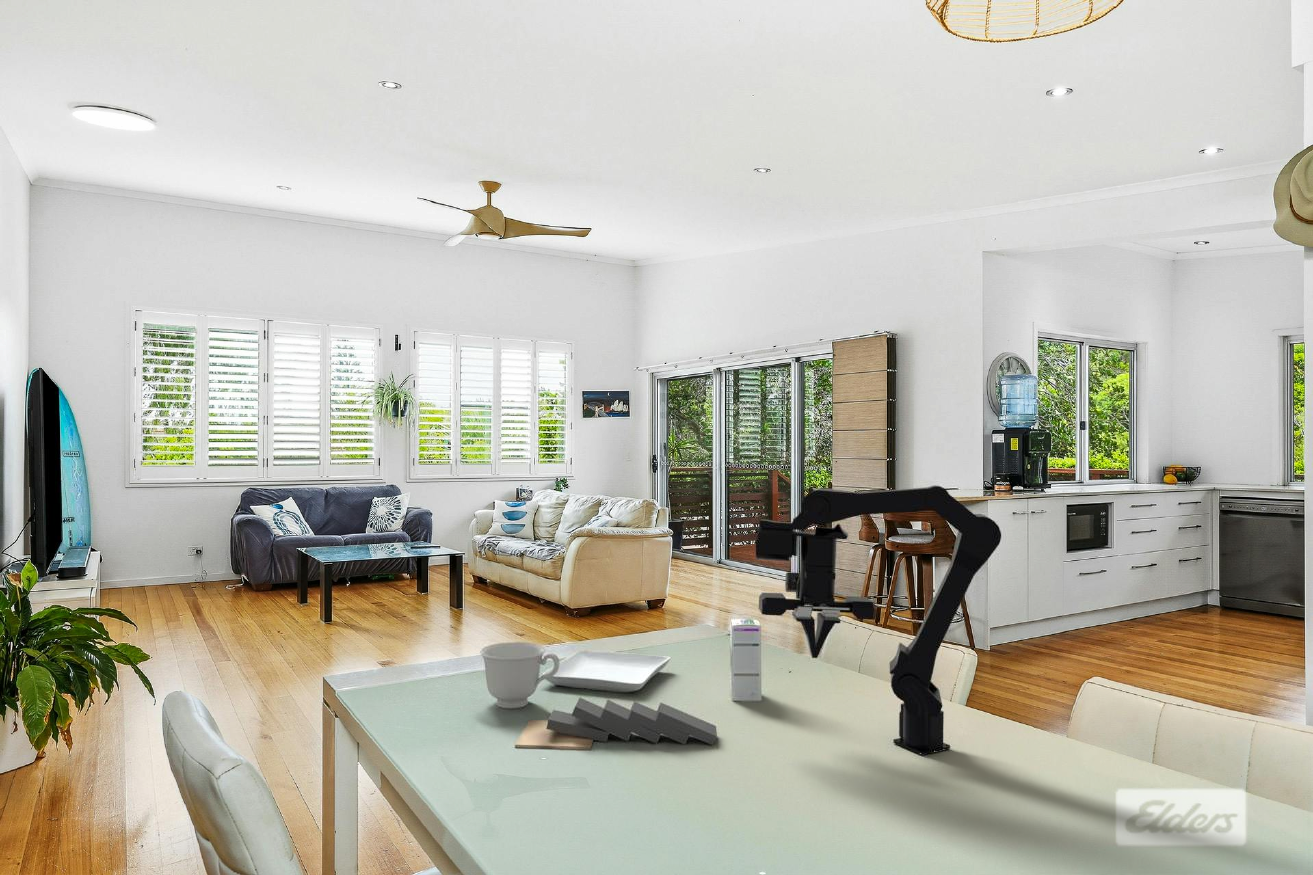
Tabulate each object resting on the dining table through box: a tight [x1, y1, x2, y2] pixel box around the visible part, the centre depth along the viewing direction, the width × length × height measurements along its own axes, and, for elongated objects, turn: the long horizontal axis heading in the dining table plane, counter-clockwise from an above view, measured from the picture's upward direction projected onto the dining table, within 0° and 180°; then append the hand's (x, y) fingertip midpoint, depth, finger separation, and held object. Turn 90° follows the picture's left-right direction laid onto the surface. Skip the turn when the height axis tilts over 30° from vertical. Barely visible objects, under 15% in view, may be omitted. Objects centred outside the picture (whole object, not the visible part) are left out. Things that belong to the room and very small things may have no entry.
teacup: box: [479, 641, 560, 709], centre depth 156 cm, size 12×15×10 cm
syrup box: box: [729, 618, 763, 702], centre depth 162 cm, size 6×6×14 cm
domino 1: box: [546, 709, 610, 743], centre depth 139 cm, size 2×5×10 cm
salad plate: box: [541, 650, 671, 693], centre depth 173 cm, size 21×21×3 cm
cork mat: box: [514, 719, 595, 750], centre depth 139 cm, size 12×12×1 cm
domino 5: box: [656, 702, 718, 746], centre depth 138 cm, size 2×5×10 cm
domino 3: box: [600, 699, 662, 744], centre depth 139 cm, size 2×5×10 cm
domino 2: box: [571, 697, 632, 742], centre depth 139 cm, size 2×5×10 cm
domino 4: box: [628, 701, 690, 745], centre depth 139 cm, size 2×5×10 cm
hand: (814, 657), depth 141 cm, fingers closed
